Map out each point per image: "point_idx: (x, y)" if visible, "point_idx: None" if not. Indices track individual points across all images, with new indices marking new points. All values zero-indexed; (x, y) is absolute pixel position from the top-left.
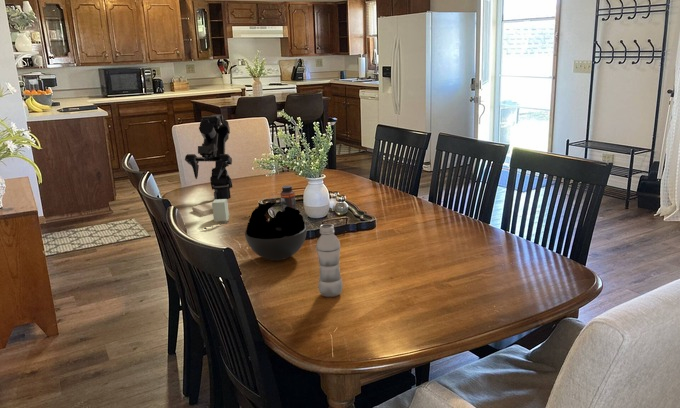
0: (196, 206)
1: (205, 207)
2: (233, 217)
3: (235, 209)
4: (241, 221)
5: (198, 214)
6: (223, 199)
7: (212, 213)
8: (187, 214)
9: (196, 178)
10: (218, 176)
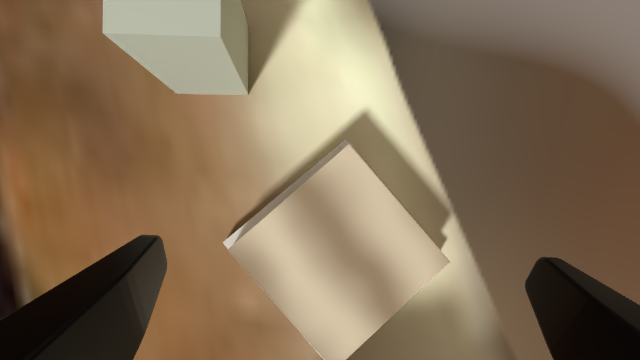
0: (423, 265)
1: (353, 230)
2: (163, 142)
3: (186, 315)
4: (96, 53)
5: (381, 180)
6: (134, 19)
7: (297, 186)
8: (460, 248)
9: (533, 269)
10: (115, 263)
